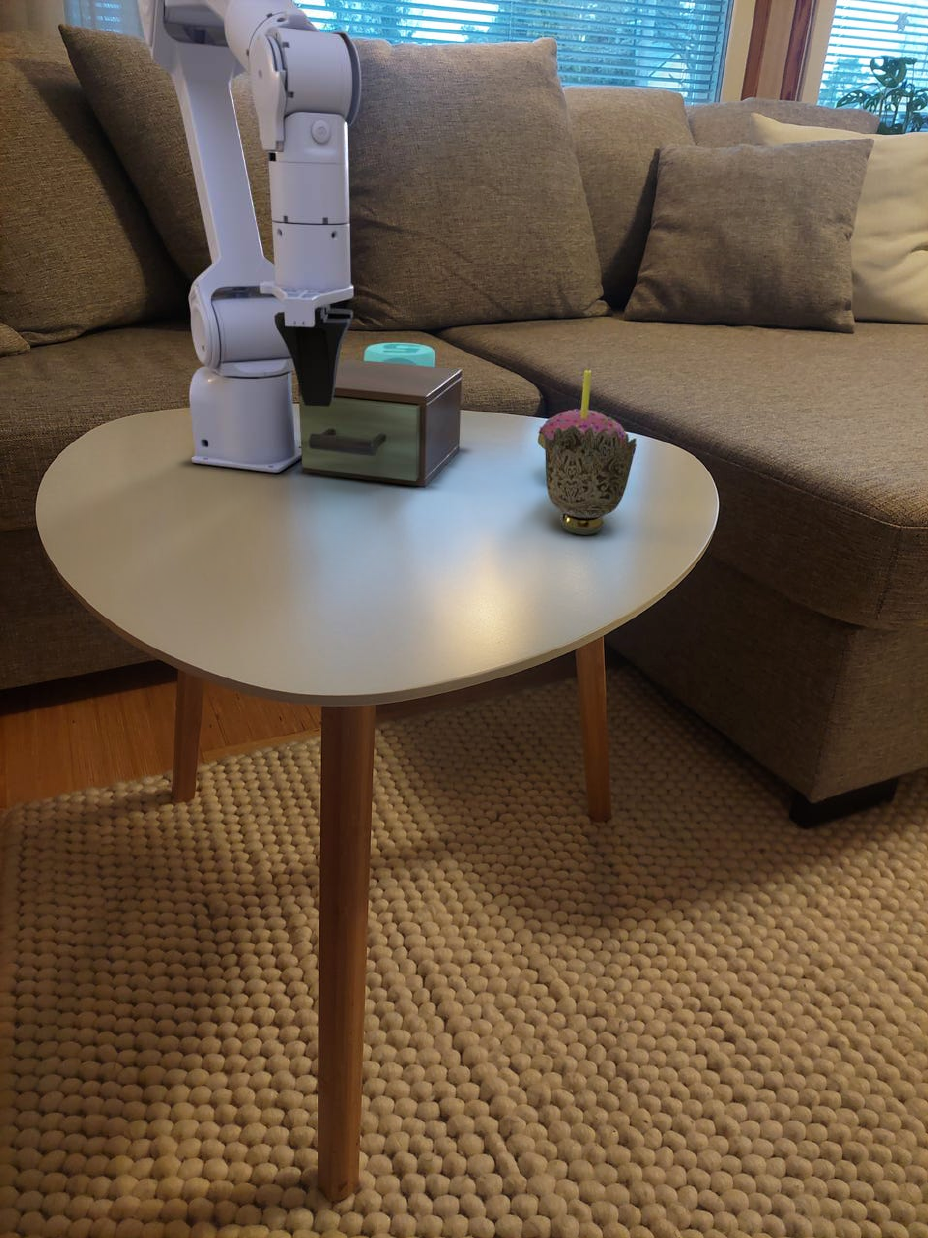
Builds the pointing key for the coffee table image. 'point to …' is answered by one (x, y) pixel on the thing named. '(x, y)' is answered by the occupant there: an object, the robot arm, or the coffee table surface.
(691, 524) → the coffee table surface
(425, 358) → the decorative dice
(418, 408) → the drawer
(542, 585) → the coffee table surface
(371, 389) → the cabinet
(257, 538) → the coffee table surface
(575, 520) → the cup
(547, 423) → the cupcake
